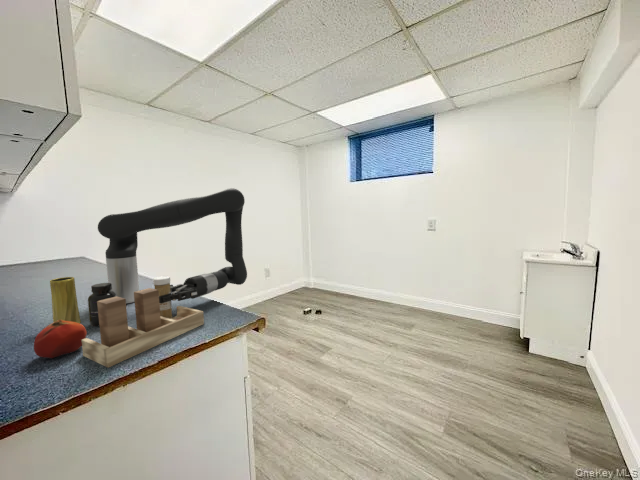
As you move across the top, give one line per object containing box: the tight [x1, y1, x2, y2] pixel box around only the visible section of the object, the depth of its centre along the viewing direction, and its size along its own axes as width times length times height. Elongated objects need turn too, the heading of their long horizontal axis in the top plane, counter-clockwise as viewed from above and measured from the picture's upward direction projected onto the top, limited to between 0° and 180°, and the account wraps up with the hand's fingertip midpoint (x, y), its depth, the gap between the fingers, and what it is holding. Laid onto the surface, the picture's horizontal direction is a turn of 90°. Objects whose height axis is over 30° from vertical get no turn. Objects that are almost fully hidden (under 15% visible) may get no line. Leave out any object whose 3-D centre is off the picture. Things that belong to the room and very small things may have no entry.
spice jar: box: [153, 275, 173, 319], centre depth 83 cm, size 5×5×13 cm
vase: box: [49, 276, 82, 324], centre depth 79 cm, size 6×6×14 cm
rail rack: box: [81, 287, 205, 368], centre depth 70 cm, size 11×25×13 cm, turn 154°
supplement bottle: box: [87, 282, 117, 327], centre depth 80 cm, size 7×7×12 cm
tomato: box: [33, 320, 88, 359], centre depth 63 cm, size 9×9×8 cm
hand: (154, 299), depth 81 cm, fingers closed on spice jar, 4 cm apart
